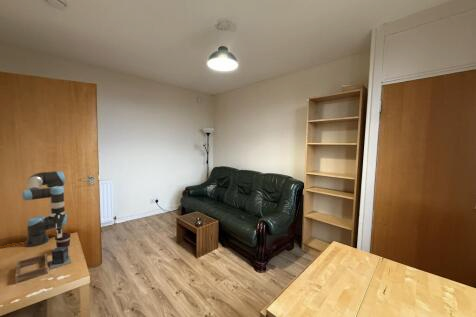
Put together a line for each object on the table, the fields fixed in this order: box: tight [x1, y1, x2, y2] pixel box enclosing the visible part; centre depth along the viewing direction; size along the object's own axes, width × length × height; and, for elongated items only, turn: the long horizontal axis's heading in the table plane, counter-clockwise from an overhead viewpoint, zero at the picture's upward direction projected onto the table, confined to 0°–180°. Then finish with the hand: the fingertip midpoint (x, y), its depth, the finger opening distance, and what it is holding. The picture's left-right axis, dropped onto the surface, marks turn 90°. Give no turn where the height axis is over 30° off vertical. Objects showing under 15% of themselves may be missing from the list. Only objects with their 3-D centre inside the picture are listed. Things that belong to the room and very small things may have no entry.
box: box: [51, 246, 69, 264], centre depth 156 cm, size 8×6×11 cm
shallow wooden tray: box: [14, 253, 49, 284], centre depth 146 cm, size 22×15×5 cm
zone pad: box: [49, 255, 72, 270], centre depth 156 cm, size 12×12×1 cm
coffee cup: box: [54, 232, 71, 251], centre depth 171 cm, size 10×10×15 cm
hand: (59, 234), depth 155 cm, fingers open, 13 cm apart
